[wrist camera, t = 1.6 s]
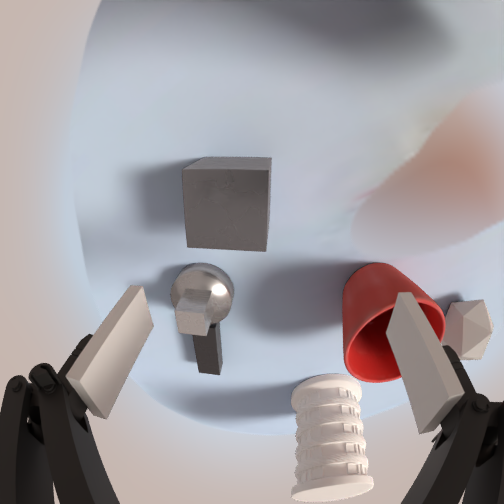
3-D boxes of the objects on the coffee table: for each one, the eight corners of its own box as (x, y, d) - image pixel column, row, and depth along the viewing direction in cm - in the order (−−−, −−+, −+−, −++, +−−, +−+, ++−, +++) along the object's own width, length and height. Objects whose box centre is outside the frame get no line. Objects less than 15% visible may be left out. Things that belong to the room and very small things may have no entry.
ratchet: (173, 260, 32) (152, 292, 26) (233, 264, 31) (223, 298, 25) (189, 358, 39) (178, 391, 33) (236, 364, 39) (229, 399, 33)
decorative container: (292, 414, 44) (290, 504, 28) (289, 376, 39) (286, 488, 23) (356, 407, 42) (367, 496, 26) (365, 368, 37) (385, 475, 21)
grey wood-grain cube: (205, 156, 26) (181, 169, 20) (271, 157, 26) (268, 170, 19) (207, 218, 29) (187, 247, 23) (269, 220, 28) (266, 251, 22)
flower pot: (426, 256, 28) (465, 305, 20) (393, 328, 33) (414, 383, 25) (346, 241, 29) (370, 293, 20) (320, 320, 34) (328, 382, 25)
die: (418, 326, 34) (446, 382, 29) (449, 301, 27) (483, 367, 21) (452, 303, 35) (479, 353, 30) (482, 276, 28) (514, 333, 23)
